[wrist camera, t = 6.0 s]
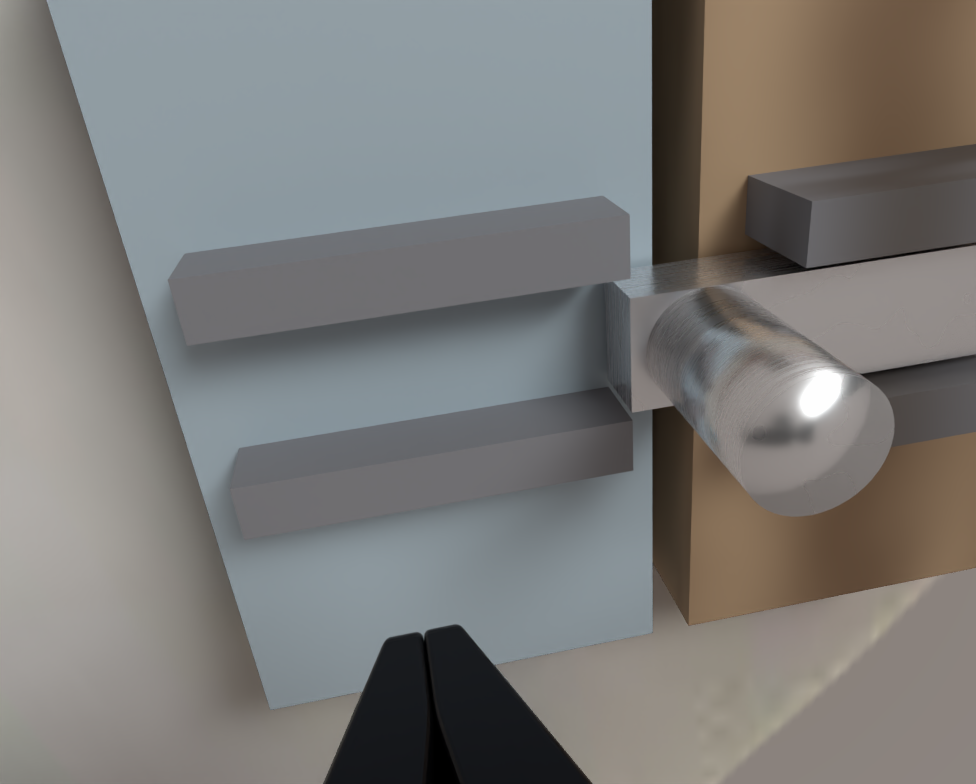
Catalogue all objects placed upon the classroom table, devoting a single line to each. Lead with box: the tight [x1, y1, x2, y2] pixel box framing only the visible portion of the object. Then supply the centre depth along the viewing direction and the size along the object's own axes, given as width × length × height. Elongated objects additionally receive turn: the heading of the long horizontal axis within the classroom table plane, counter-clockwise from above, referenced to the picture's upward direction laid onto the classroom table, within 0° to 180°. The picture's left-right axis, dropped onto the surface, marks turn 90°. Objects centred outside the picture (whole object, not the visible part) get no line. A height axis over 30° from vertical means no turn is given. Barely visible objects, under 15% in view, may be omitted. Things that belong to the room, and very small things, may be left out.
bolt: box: [605, 242, 976, 517], centre depth 14 cm, size 8×2×6 cm, turn 96°
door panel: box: [47, 0, 653, 710], centre depth 17 cm, size 10×18×5 cm, turn 6°
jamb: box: [652, 0, 976, 626], centre depth 17 cm, size 9×18×5 cm, turn 6°
